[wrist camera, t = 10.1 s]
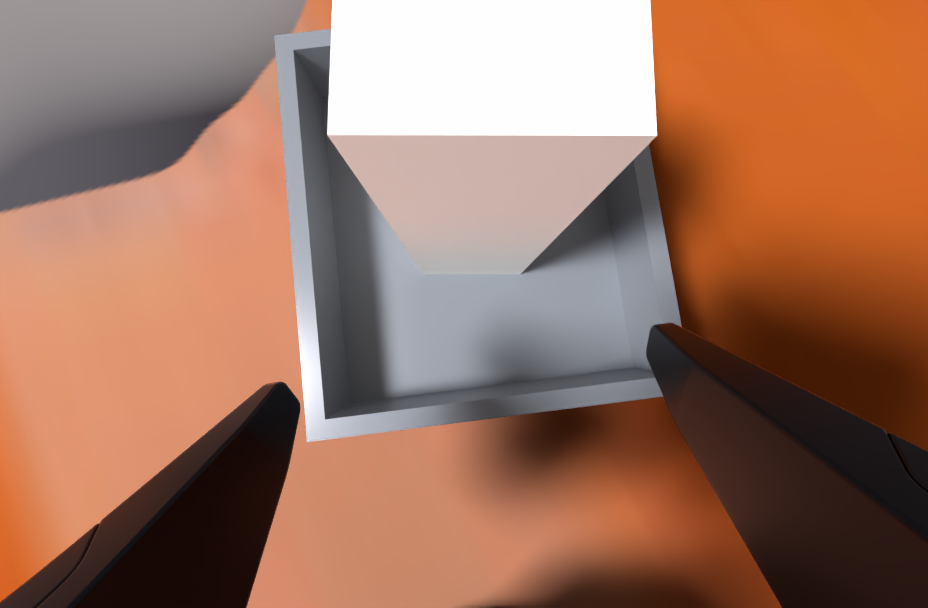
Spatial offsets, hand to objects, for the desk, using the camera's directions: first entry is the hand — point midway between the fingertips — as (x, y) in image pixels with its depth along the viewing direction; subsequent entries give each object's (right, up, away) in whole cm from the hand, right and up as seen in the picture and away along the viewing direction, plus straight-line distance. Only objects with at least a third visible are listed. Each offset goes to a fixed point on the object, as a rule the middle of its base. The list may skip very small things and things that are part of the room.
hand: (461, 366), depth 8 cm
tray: (+1, +5, +10) cm, 12 cm away
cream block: (+1, +6, +9) cm, 11 cm away
